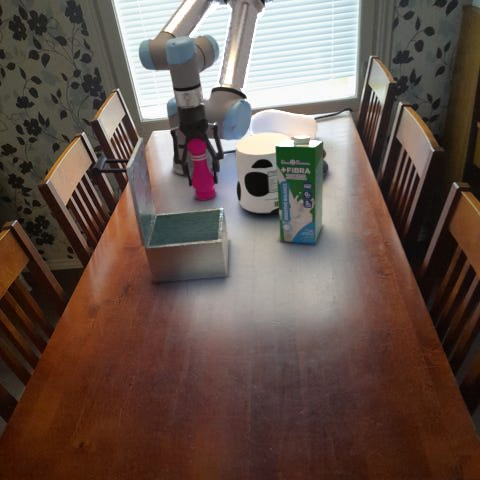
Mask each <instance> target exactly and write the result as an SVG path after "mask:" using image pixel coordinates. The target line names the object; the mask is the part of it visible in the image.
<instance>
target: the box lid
mask: <svg viewBox="0 0 480 480" xmlns="http://www.w3.org/2000/svg"><path fill="white" fill-rule="evenodd" d="M107 164H126V166H125V168H124V167H120V168H119V167H117V168H106V166H107ZM91 173H92V175H93V176H95V177H100V176H102V174H114V173H115V174H122V173H123V174H125V173H126V175H127V180H128V184H129V185H128V186H129V189H130V194H131V195H130V196H131V199H132V205H133V209H134V214H135V220H136V224H137V229H138V233H139V239H140V243H141V247H144V248H145V246H146V243H147V239H148V236H149V232H150V229H151V225H152V222H153V219H154V215H155V214H156V207H155V201H154V195H153V189H152V183H151V178H150V172H149V166H148V161H147V154H146V147H145V141H144V138H143V137H139V138H138V140H137V142H136V144H135V147H134V149H133V150H132V153H131V155H130V158H107V157H106V156H103V155H100V156H99V157H98V158H97V160H96V162H95V164H94V165H93V167H92V169H91Z"/></svg>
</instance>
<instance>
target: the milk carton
mask: <svg viewBox="0 0 480 480" xmlns="http://www.w3.org/2000/svg"><path fill="white" fill-rule="evenodd" d="M323 148H324V141H323V140H314V141H310V136H294V137H293V140H286V141H284V142H282V143H280V144H278V145H277V146H275V149H276V167H277V185H278V203H279V212H278V221H279V237H280V238H279V239H280V242H287V243H288V242H289V243H298V244H310V245H316V242H317V240H318V237H319V234H320V231H321V229H322V226H323V186H324V185H323V181H324V174H323Z"/></svg>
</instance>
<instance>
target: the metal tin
mask: <svg viewBox="0 0 480 480" xmlns="http://www.w3.org/2000/svg"><path fill="white" fill-rule="evenodd" d="M144 252H145V256H146V259H147V262H148V263H147V264H148V266H149V269H150V273H151V276H152V279H153V282H154V283H165V282H166V283H167V282H179V281H189V280H201V279H212V278H213V279H214V278H223V277H224V278H225V277H228V265H229V264H228V262H229V260H228V259H229V235H228V227H227V221H226V215H225V208H224V207H212V208H202V209H193V210H182V211H171V212H160V213H155V215H154V219H153V222H152V225H151V229H150V232H149V236H148V239H147V243H146V246H144Z"/></svg>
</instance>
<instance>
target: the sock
mask: <svg viewBox="0 0 480 480" xmlns="http://www.w3.org/2000/svg"><path fill="white" fill-rule="evenodd" d="M314 118H315V117H313V116H311V115H308V114H307V115H306V114H299V113H291V112H287V111H282V110H278V109H266V110H261V111H259V112H256V113H254V114H253V115H251V122H250V126H249V129H248V131H249V133H250V134H251V135H253V134H259V133H271V132H272V133H281V134H284V135H287V136H288V137H290V138H291V140H293V137H294V136H310V140H314V141H316V137H317V135H318V130H319V129H318V128H319V127H318V123H317V120H315V119H314Z"/></svg>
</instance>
